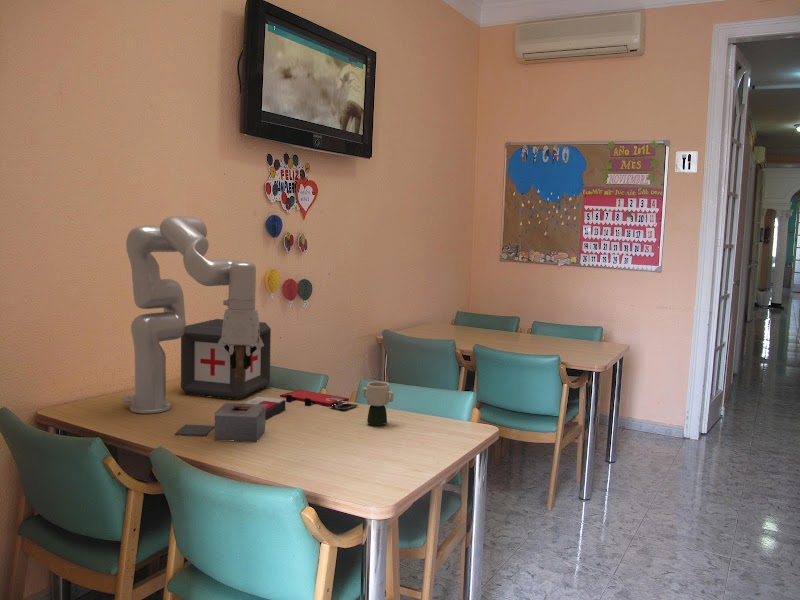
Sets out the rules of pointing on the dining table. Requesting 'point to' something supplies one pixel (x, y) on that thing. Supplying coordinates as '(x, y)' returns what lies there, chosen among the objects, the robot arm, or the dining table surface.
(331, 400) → the red board with handle
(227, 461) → the dining table surface
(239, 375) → the brown cylinder
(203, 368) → the first aid kit
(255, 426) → the guard box
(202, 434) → the rest pad
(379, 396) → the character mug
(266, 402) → the calculator
